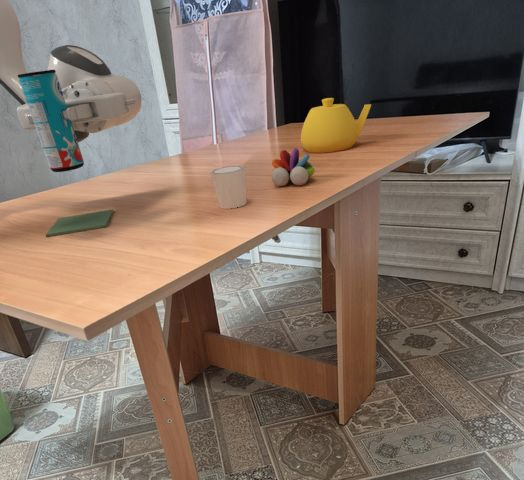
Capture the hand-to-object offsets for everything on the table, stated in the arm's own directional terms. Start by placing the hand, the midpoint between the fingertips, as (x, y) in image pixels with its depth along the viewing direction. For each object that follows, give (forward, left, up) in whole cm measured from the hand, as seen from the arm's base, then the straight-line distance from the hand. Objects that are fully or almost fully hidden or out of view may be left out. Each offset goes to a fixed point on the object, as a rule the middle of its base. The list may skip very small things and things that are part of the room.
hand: (47, 117), depth 78 cm
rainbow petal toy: (+44, +16, -21) cm, 51 cm away
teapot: (+64, +51, -21) cm, 85 cm away
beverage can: (0, +1, -9) cm, 9 cm away
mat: (-3, +11, -21) cm, 24 cm away
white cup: (+29, +6, -21) cm, 36 cm away
